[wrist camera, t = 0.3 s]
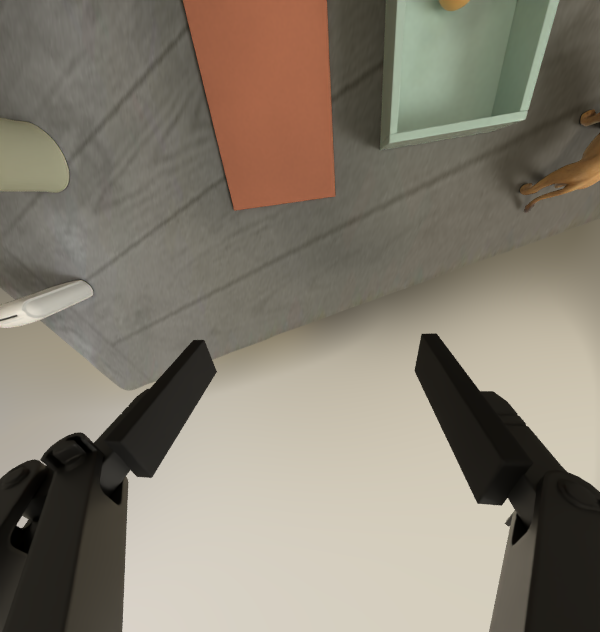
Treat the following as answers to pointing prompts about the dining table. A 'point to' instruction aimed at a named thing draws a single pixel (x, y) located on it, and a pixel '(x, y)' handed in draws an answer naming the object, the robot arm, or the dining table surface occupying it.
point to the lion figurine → (572, 169)
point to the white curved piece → (43, 303)
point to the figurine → (453, 4)
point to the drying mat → (268, 96)
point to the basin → (459, 67)
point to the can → (30, 159)
